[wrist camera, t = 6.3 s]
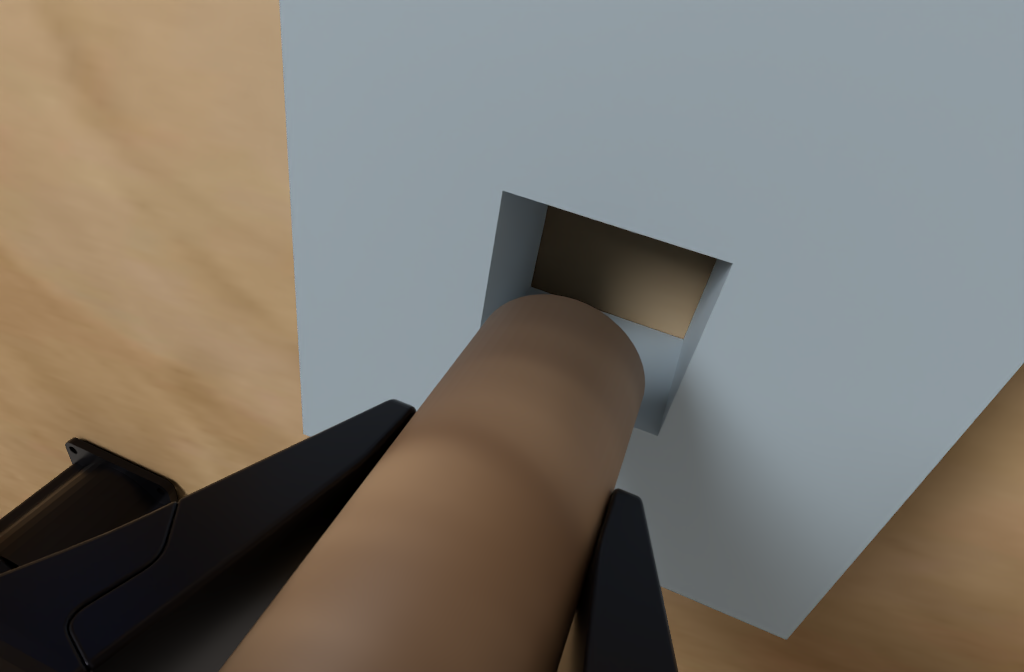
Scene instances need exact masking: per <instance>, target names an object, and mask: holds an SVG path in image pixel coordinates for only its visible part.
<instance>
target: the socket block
mask: <svg viewBox="0 0 1024 672" xmlns="http://www.w3.org/2000/svg"><path fill="white" fill-rule="evenodd" d="M279 2H280V20H281V38H282V56H283V74H284V92H285V110H286V128H287V146H288V164H289V182H290V200H291V218H292V236H293V254H294V272H295V290H296V308H297V326H298V344H299V362H300V380H301V398H302V416H303V434H305V435H307V436H310V437H311V436H313V435H316V434H318V433H320V432H322V431H324V430H326V429H328V428H330V427H332V426H335V425H337V424H339V423H341V422H343V421H345V420H347V419H349V418H351V417H353V416H356V415H358V414H360V413H362V412H364V411H366V410H368V409H370V408H372V407H375V406H377V405H379V404H381V403H383V402H385V401H387V400H390V399H396V400H399V401H402V402H404V403H407V404H409V405H412V406H413V407H415V409H416V412H417V410H418V409H419V408H420V406H421V405H422V404H423V402H424V401H425V400H426V399H427V397H428V396H429V395H430V393H431V392H432V391H433V389H434V388H435V387H436V385H437V384H438V383H439V381H440V380H441V379H442V378H443V376H444V375H445V374H446V372H447V371H448V370H449V368H450V367H451V366H452V364H453V363H454V362H455V361H456V359H457V358H458V357H459V355H460V354H461V353H462V351H463V350H464V349H465V347H466V346H467V345H468V343H469V342H470V341H471V340H472V338H473V337H474V336H475V334H476V333H477V332H478V330H479V329H480V328H481V326H482V325H483V324H484V322H485V321H486V320H487V319H488V317H489V316H490V315H491V314H492V313H493V312H494V311H495V310H497V309H498V308H499V307H500V306H502V305H504V304H505V303H507V302H509V301H511V300H514V299H517V298H519V297H524V296H528V295H537V294H549V295H553V294H550V293H547V292H545V291H542V290H539V289H536V288H533V287H531V283H532V278H533V274H534V269H535V264H536V260H537V255H538V250H539V246H540V241H541V236H542V232H543V227H544V222H545V218H546V213H547V208H548V205H550V206H553V207H556V208H559V209H562V210H566V211H569V212H572V213H575V214H578V215H581V216H585V217H588V218H591V219H594V220H597V221H600V222H603V223H607V224H610V225H613V226H616V227H619V228H622V229H626V230H629V231H632V232H635V233H638V234H641V235H644V236H648V237H651V238H654V239H657V240H660V241H663V242H667V243H670V244H673V245H676V246H679V247H682V248H685V249H689V250H692V251H695V252H698V253H701V254H704V255H708V256H711V257H714V258H717V260H716V263H715V265H714V267H713V270H712V272H711V275H710V277H709V279H708V282H707V284H706V287H705V289H704V291H703V294H702V296H701V299H700V301H699V303H698V306H697V308H696V311H695V313H694V315H693V318H692V320H691V323H690V325H689V327H688V330H687V332H686V335H685V337H684V339H680V338H677V337H675V336H672V335H669V334H666V333H663V332H660V331H657V330H654V329H651V328H649V327H646V326H643V325H640V324H637V323H634V322H631V321H628V320H625V319H623V318H620V317H617V316H614V315H611V314H608V313H605V312H602V311H601V312H602V313H603V314H605V315H606V316H608V317H609V318H610V319H612V320H613V321H614V322H615V323H616V324H617V325H618V326H619V327H620V328H621V329H622V330H623V331H624V332H625V333H626V334H627V336H628V337H629V338H630V340H631V341H632V343H633V344H634V346H635V348H636V350H637V352H638V354H639V356H640V359H641V361H642V364H643V369H644V374H645V390H644V396H643V399H642V402H641V406H640V409H639V412H638V415H637V418H636V422H635V425H634V428H633V431H632V434H631V437H630V441H629V444H628V447H627V450H626V453H625V457H624V460H623V463H622V466H621V469H620V472H619V476H618V479H617V482H616V485H615V488H614V490H615V489H617V488H619V489H622V490H625V491H627V492H630V493H632V494H635V495H637V496H639V497H640V498H641V499H642V501H643V505H644V510H645V515H646V519H647V524H648V529H649V534H650V539H651V543H652V548H653V553H654V558H655V563H656V567H657V572H658V577H659V582H660V586H661V587H664V588H666V589H668V590H671V591H673V592H675V593H678V594H680V595H682V596H685V597H687V598H689V599H692V600H694V601H696V602H699V603H701V604H703V605H706V606H708V607H710V608H713V609H715V610H717V611H720V612H722V613H724V614H727V615H729V616H732V617H734V618H736V619H739V620H741V621H743V622H746V623H748V624H750V625H753V626H755V627H757V628H760V629H762V630H764V631H767V632H769V633H771V634H774V635H776V636H778V637H781V638H783V639H785V640H787V639H788V637H789V636H790V635H791V634H792V633H793V632H794V630H795V629H796V628H797V627H798V626H799V625H800V623H801V622H802V621H803V620H804V619H805V618H806V616H807V615H808V614H809V613H810V612H811V611H812V609H813V608H814V607H815V606H816V605H817V604H818V602H819V601H820V600H821V599H822V598H823V597H824V595H825V594H826V593H827V592H828V591H829V590H830V588H831V587H832V586H833V585H834V584H835V583H836V581H837V580H838V579H839V578H840V577H841V576H842V574H843V573H844V572H845V571H846V570H847V569H848V567H849V566H850V565H851V564H852V563H853V562H854V560H855V559H856V558H857V557H858V556H859V555H860V553H861V552H862V551H863V550H864V549H865V548H866V546H867V545H868V544H869V543H870V542H871V541H872V539H873V538H874V537H875V536H876V535H877V534H878V532H879V531H880V530H881V529H882V528H883V527H884V525H885V524H886V523H887V522H888V521H889V520H890V518H891V517H892V516H893V515H894V514H895V513H896V511H897V510H898V509H899V508H900V507H901V506H902V504H903V503H904V502H905V501H906V500H907V499H908V497H909V496H910V495H911V494H912V493H913V492H914V490H915V489H916V488H917V487H918V486H919V485H920V483H921V482H922V481H923V480H924V479H925V478H926V476H927V475H928V474H929V473H930V472H931V471H932V469H933V468H934V467H935V466H936V465H937V464H938V462H939V461H940V460H941V459H942V458H943V457H944V455H945V454H946V453H947V452H948V451H949V450H950V448H951V447H952V446H953V445H954V444H955V443H956V441H957V440H958V439H959V438H960V437H961V436H962V434H963V433H964V432H965V431H966V430H967V429H968V427H969V426H970V425H971V424H972V423H973V422H974V420H975V419H976V418H977V417H978V416H979V415H980V413H981V412H982V411H983V410H984V409H985V408H986V406H987V405H988V404H989V403H990V402H991V401H992V399H993V398H994V397H995V396H996V395H997V394H998V392H999V391H1000V390H1001V389H1002V388H1003V387H1004V385H1005V384H1006V383H1007V382H1008V381H1009V380H1010V378H1011V377H1012V376H1013V375H1014V374H1015V373H1016V371H1017V370H1018V369H1019V368H1020V367H1021V366H1022V364H1023V363H1024V0H279Z"/></svg>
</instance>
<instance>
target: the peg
mask: <svg viewBox="0 0 1024 672" xmlns="http://www.w3.org/2000/svg"><path fill="white" fill-rule="evenodd" d="M644 390H645V374H644V369H643V364H642V361H641V359H640V356H639V354H638V352H637V350H636V348H635V346H634V344H633V343H632V341H631V340H630V338H629V337H628V336H627V334H626V333H625V332H624V331H623V330H622V329H621V328H620V327H619V326H618V325H617V324H616V323H615V322H614V321H613V320H612V319H610V318H609V317H608V316H606V315H605V314H603V313H602V312H601V311H599V310H597V309H595V308H593V307H592V306H590V305H588V304H585V303H583V302H580V301H578V300H575V299H572V298H568V297H564V296H558V295H549V294H537V295H528V296H524V297H519V298H517V299H514V300H511V301H509V302H507V303H505V304H504V305H502V306H500V307H499V308H498V309H497V310H495V311H494V312H493V313H492V314H491V315H490V316H489V317H488V319H487V320H486V321H485V322H484V324H483V325H482V326H481V328H480V329H479V330H478V332H477V333H476V334H475V336H474V337H473V338H472V340H471V341H470V342H469V343H468V345H467V346H466V347H465V349H464V350H463V351H462V353H461V354H460V355H459V357H458V358H457V359H456V361H455V362H454V363H453V364H452V366H451V367H450V368H449V370H448V371H447V372H446V374H445V375H444V376H443V378H442V379H441V380H440V381H439V383H438V384H437V385H436V387H435V388H434V389H433V391H432V392H431V393H430V395H429V396H428V397H427V399H426V400H425V401H424V402H423V404H422V405H421V406H420V408H419V409H418V410H417V412H416V413H415V414H414V416H413V417H412V418H411V420H410V421H409V422H408V423H407V425H406V426H405V427H404V429H403V430H402V431H401V433H400V434H399V435H398V437H397V438H396V439H395V440H394V442H393V443H392V444H391V446H390V447H389V448H388V450H387V451H386V452H385V454H384V455H383V456H382V458H381V459H380V460H379V461H378V463H377V464H376V465H375V467H374V468H373V469H372V471H371V472H370V473H369V475H368V476H367V477H366V478H365V480H364V481H363V482H362V484H361V485H360V486H359V488H358V489H357V490H356V492H355V493H354V494H353V496H352V497H351V498H350V499H349V501H348V502H347V503H346V505H345V506H344V507H343V509H342V510H341V511H340V513H339V514H338V515H337V517H336V518H335V519H334V520H333V522H332V523H331V524H330V526H329V527H328V528H327V530H326V531H325V532H324V534H323V535H322V536H321V537H320V539H319V540H318V541H317V543H316V544H315V545H314V547H313V548H312V549H311V551H310V552H309V553H308V555H307V556H306V557H305V558H304V560H303V561H302V562H301V564H300V565H299V566H298V568H297V569H296V570H295V572H294V573H293V574H292V576H291V577H290V578H289V579H288V581H287V582H286V583H285V585H284V586H283V587H282V589H281V590H280V591H279V593H278V594H277V595H276V596H275V598H274V599H273V600H272V602H271V603H270V604H269V606H268V607H267V608H266V610H265V611H264V612H263V614H262V615H261V616H260V617H259V619H258V620H257V621H256V623H255V624H254V625H253V627H252V628H251V629H250V631H249V632H248V633H247V635H246V636H245V637H244V638H243V640H242V641H241V642H240V644H239V645H238V646H237V648H236V649H235V650H234V652H233V653H232V654H231V655H230V657H229V658H228V659H227V661H226V662H225V663H224V665H223V666H222V667H221V669H220V670H219V671H218V672H557V670H558V666H559V663H560V660H561V657H562V654H563V651H564V647H565V644H566V641H567V638H568V635H569V632H570V628H571V625H572V622H573V619H574V616H575V612H576V609H577V606H578V603H579V600H580V596H581V593H582V590H583V586H584V582H585V578H586V575H587V571H588V568H589V564H590V561H591V558H592V555H593V551H594V548H595V545H596V542H597V539H598V536H599V532H600V529H601V526H602V523H603V520H604V517H605V514H606V510H607V507H608V504H609V501H610V498H611V495H612V492H613V491H614V488H615V485H616V482H617V479H618V476H619V472H620V469H621V466H622V463H623V460H624V457H625V453H626V450H627V447H628V444H629V441H630V437H631V434H632V431H633V428H634V425H635V422H636V418H637V415H638V412H639V409H640V406H641V402H642V399H643V396H644Z"/></svg>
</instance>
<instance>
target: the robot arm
mask: <svg viewBox="0 0 1024 672" xmlns="http://www.w3.org/2000/svg"><path fill="white" fill-rule="evenodd" d="M415 413H416V409H415V407H413V406H412V405H409V404H407V403H404V402H402V401H399V400H396V399H390V400H387V401H385V402H383V403H381V404H379V405H377V406H375V407H372V408H370V409H368V410H366V411H364V412H362V413H360V414H358V415H356V416H353V417H351V418H349V419H347V420H345V421H343V422H341V423H339V424H337V425H335V426H332V427H330V428H328V429H326V430H324V431H322V432H320V433H318V434H316V435H313V436H311V437H309V438H307V439H305V440H303V441H301V442H299V443H297V444H295V445H292V446H290V447H288V448H286V449H284V450H282V451H280V452H278V453H276V454H273V455H271V456H269V457H267V458H265V459H263V460H261V461H259V462H257V463H255V464H252V465H250V466H248V467H246V468H244V469H242V470H240V471H238V472H236V473H233V474H231V475H229V476H227V477H225V478H223V479H221V480H219V481H217V482H215V483H212V484H210V485H208V486H206V487H204V488H202V489H200V490H198V491H196V492H193V493H191V494H189V495H187V496H185V497H183V498H181V499H180V500H179V502H178V499H177V495H176V491H175V488H174V486H173V485H172V484H171V483H170V482H169V481H167V480H166V479H164V478H162V477H160V476H157V475H155V474H153V473H151V472H149V471H147V470H145V469H142V468H140V467H138V466H136V465H134V464H132V463H129V462H127V461H125V460H123V459H121V458H119V457H117V456H114V455H112V454H110V453H108V452H106V451H104V450H102V449H99V448H97V447H95V446H93V445H91V444H89V443H87V442H84V441H82V440H80V439H78V438H72V439H71V440H69V441H68V442H67V443H66V444H65V446H66V449H67V451H68V454H69V456H70V459H71V462H72V464H73V465H71V466H70V467H69V468H67V469H66V470H65V471H63V472H62V473H61V474H59V475H58V476H57V477H55V478H54V479H53V480H52V481H50V482H49V483H48V484H46V485H45V486H44V487H42V488H41V489H40V490H38V491H37V492H36V493H34V494H33V495H32V496H30V497H29V498H28V499H26V500H25V501H24V502H23V503H21V504H20V505H19V506H17V507H16V508H15V509H13V510H12V511H11V512H9V513H8V514H7V515H5V516H4V517H3V518H1V519H0V672H218V671H219V670H220V669H221V667H222V666H223V665H224V663H225V662H226V661H227V659H228V658H229V657H230V655H231V654H232V653H233V652H234V650H235V649H236V648H237V646H238V645H239V644H240V642H241V641H242V640H243V638H244V637H245V636H246V635H247V633H248V632H249V631H250V629H251V628H252V627H253V625H254V624H255V623H256V621H257V620H258V619H259V617H260V616H261V615H262V614H263V612H264V611H265V610H266V608H267V607H268V606H269V604H270V603H271V602H272V600H273V599H274V598H275V596H276V595H277V594H278V593H279V591H280V590H281V589H282V587H283V586H284V585H285V583H286V582H287V581H288V579H289V578H290V577H291V576H292V574H293V573H294V572H295V570H296V569H297V568H298V566H299V565H300V564H301V562H302V561H303V560H304V558H305V557H306V556H307V555H308V553H309V552H310V551H311V549H312V548H313V547H314V545H315V544H316V543H317V541H318V540H319V539H320V537H321V536H322V535H323V534H324V532H325V531H326V530H327V528H328V527H329V526H330V524H331V523H332V522H333V520H334V519H335V518H336V517H337V515H338V514H339V513H340V511H341V510H342V509H343V507H344V506H345V505H346V503H347V502H348V501H349V499H350V498H351V497H352V496H353V494H354V493H355V492H356V490H357V489H358V488H359V486H360V485H361V484H362V482H363V481H364V480H365V478H366V477H367V476H368V475H369V473H370V472H371V471H372V469H373V468H374V467H375V465H376V464H377V463H378V461H379V460H380V459H381V458H382V456H383V455H384V454H385V452H386V451H387V450H388V448H389V447H390V446H391V444H392V443H393V442H394V440H395V439H396V438H397V437H398V435H399V434H400V433H401V431H402V430H403V429H404V427H405V426H406V425H407V423H408V422H409V421H410V420H411V418H412V417H413V416H414V414H415ZM557 672H678V668H677V663H676V659H675V654H674V649H673V644H672V639H671V635H670V630H669V625H668V620H667V615H666V611H665V606H664V601H663V596H662V591H661V587H660V582H659V577H658V572H657V567H656V563H655V558H654V553H653V548H652V543H651V539H650V534H649V529H648V524H647V519H646V515H645V510H644V505H643V501H642V499H641V498H640V497H639V496H637V495H635V494H632V493H630V492H627V491H625V490H622V489H619V488H617V489H615V490H614V491H613V492H612V495H611V498H610V501H609V504H608V507H607V510H606V514H605V517H604V520H603V523H602V526H601V529H600V532H599V536H598V539H597V542H596V545H595V548H594V551H593V555H592V558H591V561H590V564H589V568H588V571H587V575H586V578H585V582H584V586H583V590H582V593H581V596H580V600H579V603H578V606H577V609H576V612H575V616H574V619H573V622H572V625H571V628H570V632H569V635H568V638H567V641H566V644H565V647H564V651H563V654H562V657H561V660H560V663H559V666H558V670H557Z"/></svg>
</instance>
